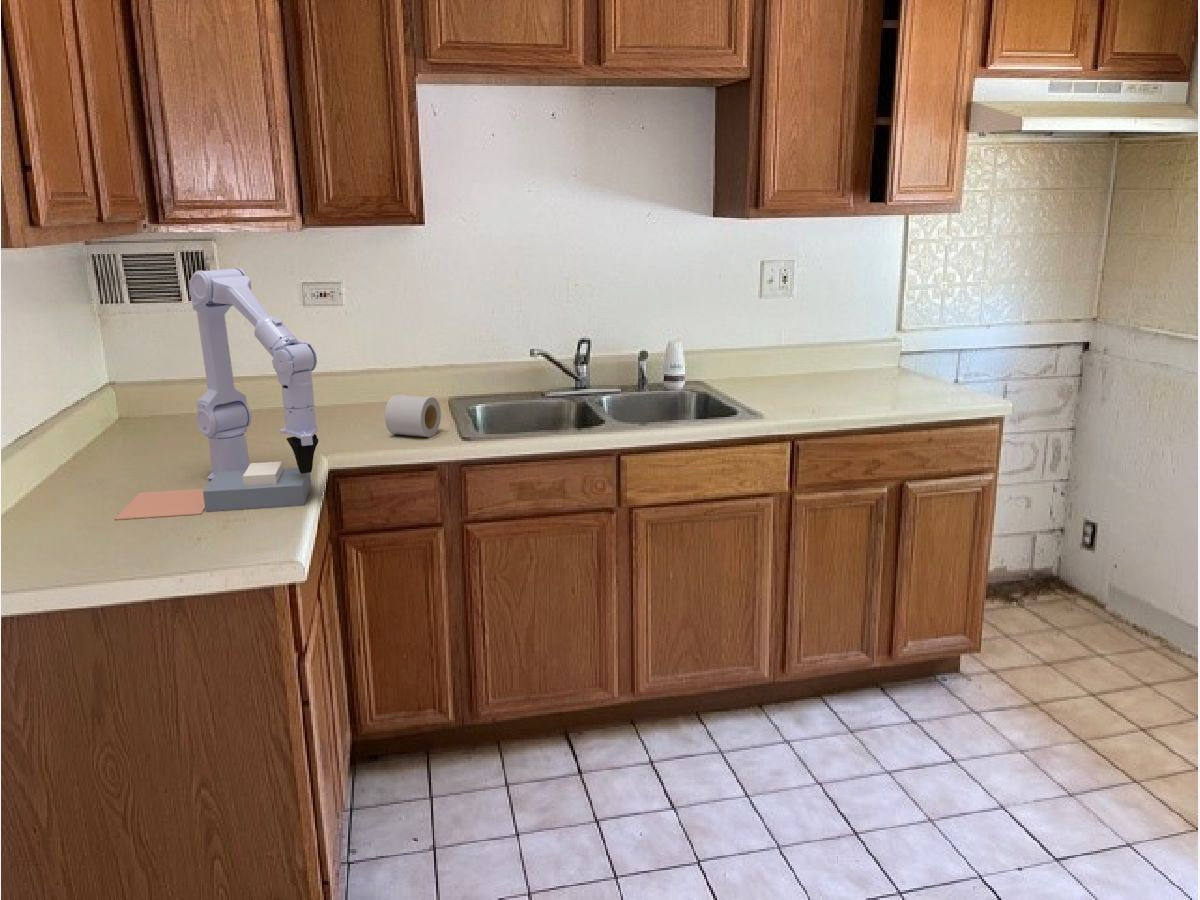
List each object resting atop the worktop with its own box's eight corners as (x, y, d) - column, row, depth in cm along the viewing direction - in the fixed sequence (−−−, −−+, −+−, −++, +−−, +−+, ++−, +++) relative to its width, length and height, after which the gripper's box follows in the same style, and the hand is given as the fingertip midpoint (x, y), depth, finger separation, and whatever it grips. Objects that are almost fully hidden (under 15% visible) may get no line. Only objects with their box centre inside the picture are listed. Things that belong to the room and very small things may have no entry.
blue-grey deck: (219, 490, 183) (217, 472, 182) (311, 485, 186) (309, 466, 185) (205, 511, 171) (202, 491, 169) (304, 505, 174) (302, 485, 173)
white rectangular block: (251, 472, 181) (250, 463, 181) (282, 470, 182) (281, 461, 182) (243, 486, 173) (242, 476, 172) (276, 484, 174) (275, 474, 173)
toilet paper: (386, 438, 223) (383, 399, 220) (407, 428, 232) (404, 391, 230) (422, 441, 220) (419, 401, 217) (441, 431, 229) (439, 393, 226)
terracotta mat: (140, 493, 181) (139, 492, 181) (218, 488, 184) (218, 487, 184) (115, 520, 166) (114, 519, 166) (201, 514, 169) (200, 513, 169)
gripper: (273, 400, 180) (280, 465, 183) (282, 415, 167) (289, 484, 171) (309, 397, 183) (315, 461, 186) (321, 411, 170) (327, 479, 174)
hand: (305, 472), depth 179 cm, fingers closed
